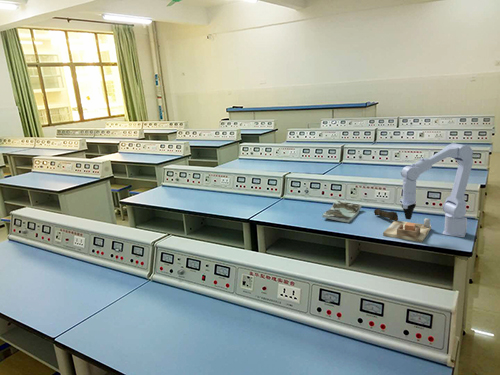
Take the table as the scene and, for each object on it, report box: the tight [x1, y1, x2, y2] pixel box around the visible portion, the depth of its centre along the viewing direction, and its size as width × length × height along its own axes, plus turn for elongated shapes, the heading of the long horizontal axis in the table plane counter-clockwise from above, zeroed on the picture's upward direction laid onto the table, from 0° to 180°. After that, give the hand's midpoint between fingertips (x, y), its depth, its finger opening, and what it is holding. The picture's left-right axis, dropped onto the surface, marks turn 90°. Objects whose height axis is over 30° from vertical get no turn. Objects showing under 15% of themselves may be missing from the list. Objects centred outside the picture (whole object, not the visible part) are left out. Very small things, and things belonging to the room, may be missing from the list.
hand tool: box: [373, 208, 399, 222], centre depth 205 cm, size 19×4×5 cm, turn 13°
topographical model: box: [322, 200, 362, 224], centre depth 219 cm, size 26×15×5 cm, turn 149°
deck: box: [382, 220, 432, 243], centre depth 186 cm, size 18×20×5 cm
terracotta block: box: [405, 222, 416, 231], centre depth 182 cm, size 4×4×4 cm
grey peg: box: [423, 217, 431, 228], centre depth 187 cm, size 3×3×4 cm
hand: (408, 218), depth 177 cm, fingers closed
